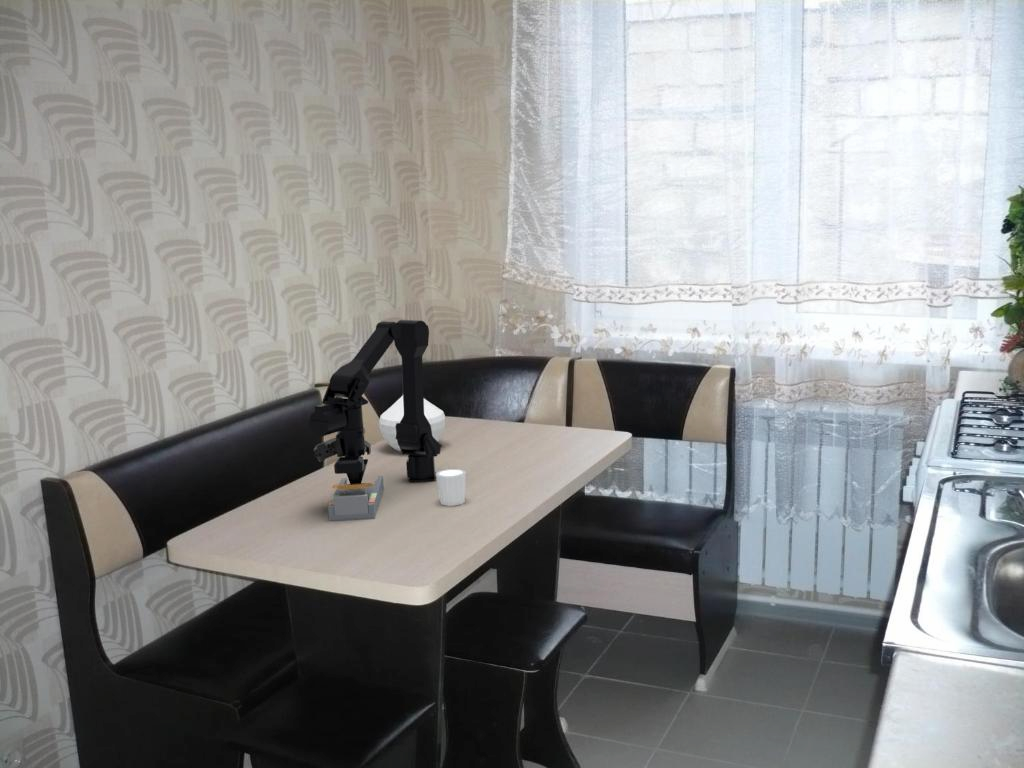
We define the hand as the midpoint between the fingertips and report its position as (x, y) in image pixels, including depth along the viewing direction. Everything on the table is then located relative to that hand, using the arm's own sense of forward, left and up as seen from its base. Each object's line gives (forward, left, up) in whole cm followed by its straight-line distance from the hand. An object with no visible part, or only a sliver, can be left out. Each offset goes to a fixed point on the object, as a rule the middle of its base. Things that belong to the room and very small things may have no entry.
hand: (355, 493), depth 243 cm
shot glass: (-22, +1, -3) cm, 22 cm away
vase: (-10, -51, -3) cm, 52 cm away
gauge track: (0, -2, -3) cm, 3 cm away
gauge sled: (0, +4, -2) cm, 5 cm away
